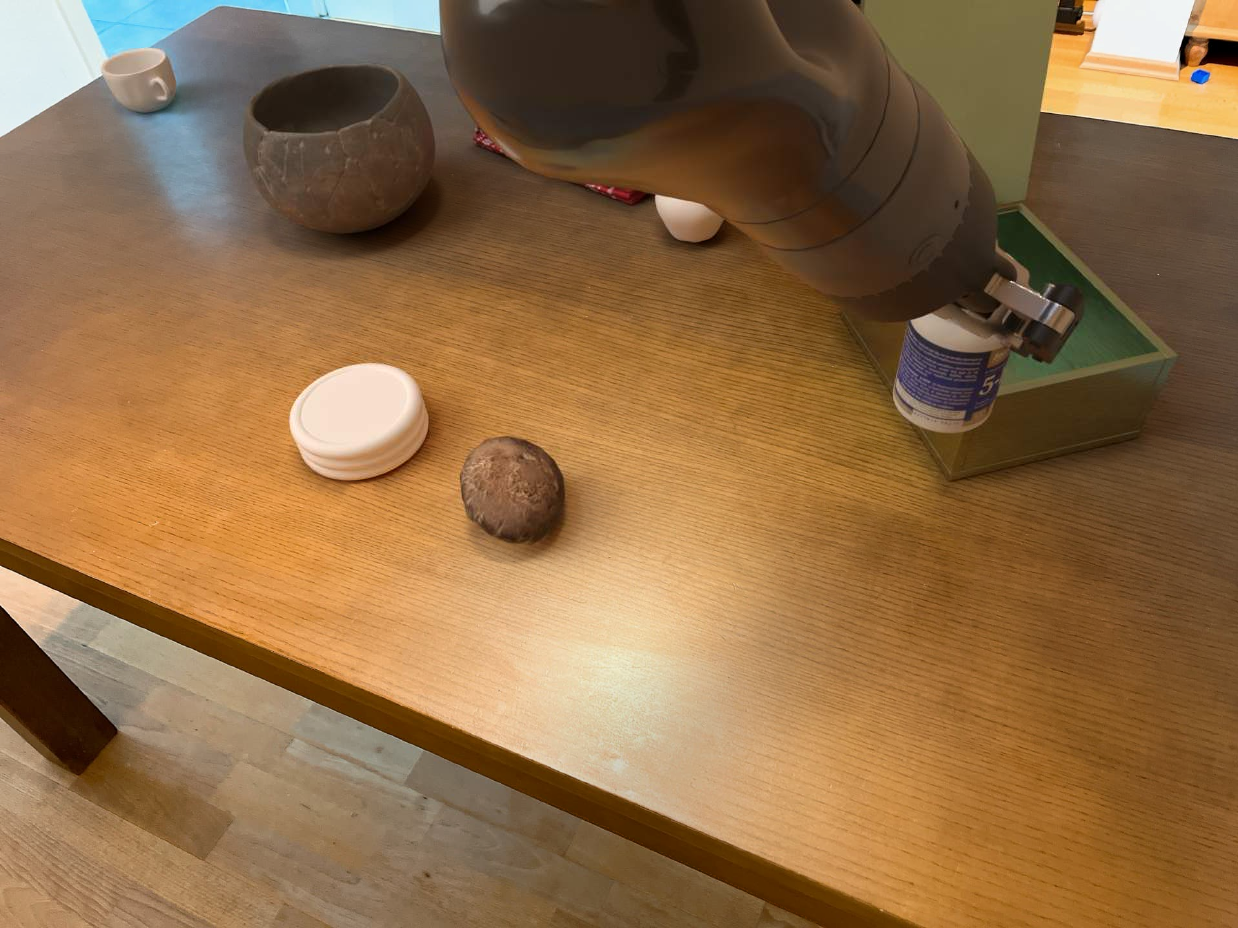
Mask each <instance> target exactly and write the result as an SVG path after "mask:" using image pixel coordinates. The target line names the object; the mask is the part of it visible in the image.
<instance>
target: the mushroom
mask: <svg viewBox="0 0 1238 928" xmlns="http://www.w3.org/2000/svg"><path fill="white" fill-rule="evenodd" d="M459 483H460V493H461V501H462V502H463V504H464V512H465V513H466V517H468V518H469V519H470V521H472V522H473V523H476V524H477V525H478V526H479V527H480V528H481V529H482V530H483V531H485V533H487V534H488V535H489V536H491V537H494V538H495V539H498V540H500V541H502V542H505V543H507V544H512V545H513V544H514V545H525V546H530V545H533V544H536V543H538V542H540V541H542V540H545V539H547V538H548V537H550V535H551V534H552V533H553V531H554V529H555V528H556V526H557V525H558V524H559V522H560V521H561V519H562V517H563V511H564V510H563V509H564V503H565V497H566V488H565V477H564V474H563V473H562V471H561V469H560V467H559V465H558V464H557V462H556V459H554V458H553V457H552V456H551V455H550V454H548V452H546V451H545V450H544V449H543V448H542V447H541V446H539V445H537V444H535V443H533V442H531V441H529V440H527V439H524V438H519V437H516V436H510V435H504V436H496V437H489V438H487V439H484V440H483V441H482V442H481V443H479V444H478V445H477V446H476V447H475V448H474V449H473V450H471V451H470V452H469V453H468V454H467V456H466V458H465V461H464V463H463V466H462V468H461V471H460V474H459Z"/></svg>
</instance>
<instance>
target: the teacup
mask: <svg viewBox="0 0 1238 928" xmlns="http://www.w3.org/2000/svg"><path fill="white" fill-rule="evenodd" d="M100 71H101V74H102V78H103V79H104V81H105V82H106V84H107V86H108V88H109V89H110V91H111V93H112V94H113V97H114V98H116V100H117V101H118V102H119V103H120V104H121V105H123V106H124V107H125V108H127V109H129V110H130V111H134V112H137V113H153V112H157V111H160V110H163V109H164V108H166V107H168V106H169V105H170V104H171V102H172V101H173V100H174V98H175V97H176V94H177V79H176V76H175V73H174V70H173V67H172V63H171V61H170V59H169V57H168V55H167V53H166V52H165V51H164V50H163V49H161V48H156V47H139V48H132V49H128V50H124V51H121V52H118V53H115V54H114V55H112V56H110V57H108V58H107V59H105V60H104V61H103V62H102V64H101V66H100Z"/></svg>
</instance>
